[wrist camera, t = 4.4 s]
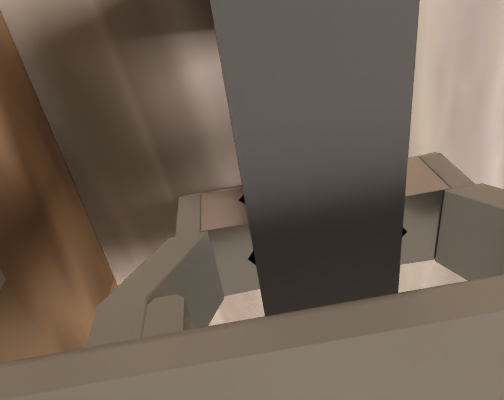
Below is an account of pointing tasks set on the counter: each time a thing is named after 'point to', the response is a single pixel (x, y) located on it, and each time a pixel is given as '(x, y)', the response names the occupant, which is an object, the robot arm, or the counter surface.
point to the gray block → (321, 141)
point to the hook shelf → (41, 230)
